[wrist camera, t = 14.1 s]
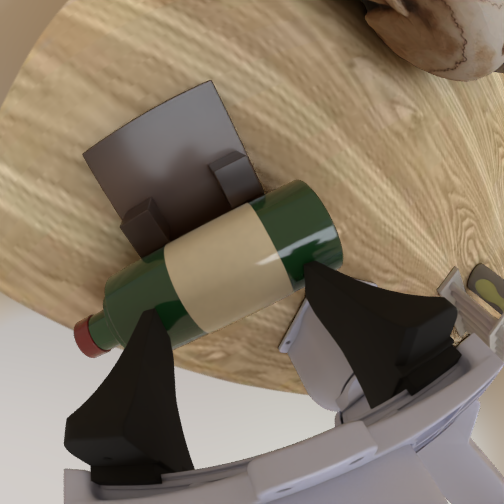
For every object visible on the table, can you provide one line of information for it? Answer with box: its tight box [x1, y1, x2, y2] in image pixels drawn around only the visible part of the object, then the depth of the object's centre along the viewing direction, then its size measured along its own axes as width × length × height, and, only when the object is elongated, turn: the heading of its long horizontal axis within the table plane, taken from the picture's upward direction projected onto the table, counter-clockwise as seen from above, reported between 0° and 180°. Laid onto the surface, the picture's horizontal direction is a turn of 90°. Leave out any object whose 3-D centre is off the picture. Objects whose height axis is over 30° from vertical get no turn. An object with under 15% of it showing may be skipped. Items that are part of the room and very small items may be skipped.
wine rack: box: [82, 80, 265, 258], centre depth 17 cm, size 16×9×4 cm, turn 24°
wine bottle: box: [74, 180, 343, 358], centre depth 15 cm, size 16×6×6 cm, turn 113°
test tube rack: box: [437, 267, 504, 362], centre depth 32 cm, size 25×4×13 cm, turn 48°
